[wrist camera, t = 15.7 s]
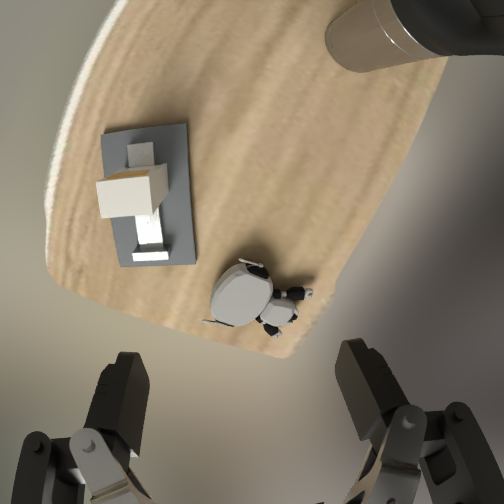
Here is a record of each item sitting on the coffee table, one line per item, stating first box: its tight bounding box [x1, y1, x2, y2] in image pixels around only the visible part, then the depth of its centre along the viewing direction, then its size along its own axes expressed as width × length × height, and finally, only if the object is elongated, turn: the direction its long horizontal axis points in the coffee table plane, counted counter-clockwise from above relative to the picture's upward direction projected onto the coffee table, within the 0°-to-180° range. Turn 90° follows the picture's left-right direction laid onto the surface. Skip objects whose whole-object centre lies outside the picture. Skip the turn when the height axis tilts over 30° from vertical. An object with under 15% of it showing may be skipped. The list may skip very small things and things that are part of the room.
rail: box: [127, 141, 171, 261], centre depth 35 cm, size 5×16×2 cm, turn 0°
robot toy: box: [202, 258, 313, 338], centre depth 44 cm, size 12×4×15 cm
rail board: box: [101, 123, 196, 267], centre depth 36 cm, size 12×20×1 cm, turn 0°
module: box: [96, 163, 169, 218], centre depth 30 cm, size 6×4×9 cm
